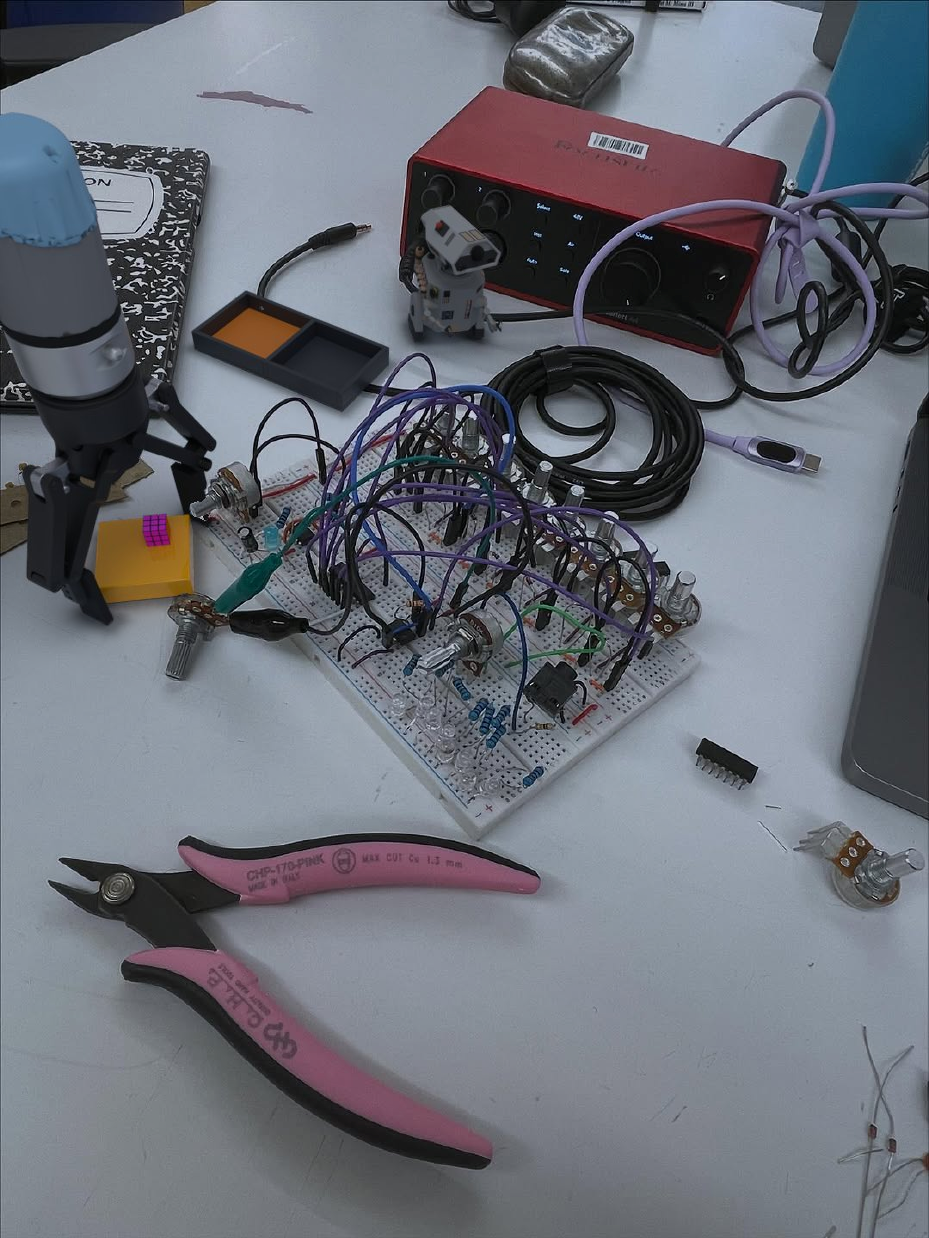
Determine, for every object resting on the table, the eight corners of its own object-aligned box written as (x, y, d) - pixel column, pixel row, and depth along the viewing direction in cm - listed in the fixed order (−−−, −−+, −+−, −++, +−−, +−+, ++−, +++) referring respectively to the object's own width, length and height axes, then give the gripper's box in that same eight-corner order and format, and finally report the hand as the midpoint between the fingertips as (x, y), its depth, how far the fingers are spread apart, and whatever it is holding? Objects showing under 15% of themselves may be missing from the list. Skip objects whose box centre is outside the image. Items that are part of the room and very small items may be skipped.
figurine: (423, 372, 94) (431, 251, 82) (405, 316, 100) (410, 196, 88) (496, 368, 96) (514, 248, 84) (474, 313, 102) (488, 195, 90)
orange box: (194, 594, 71) (185, 564, 68) (100, 604, 70) (86, 573, 66) (193, 530, 76) (184, 498, 72) (104, 537, 74) (92, 505, 71)
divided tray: (194, 349, 92) (190, 331, 90) (248, 307, 98) (245, 290, 96) (342, 411, 88) (341, 394, 86) (389, 364, 94) (389, 347, 92)
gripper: (-19, 496, 48) (85, 681, 65) (234, 305, 62) (265, 498, 79) (-110, 451, 49) (14, 643, 66) (157, 274, 64) (203, 470, 80)
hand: (150, 565), depth 73 cm, fingers open, 13 cm apart
